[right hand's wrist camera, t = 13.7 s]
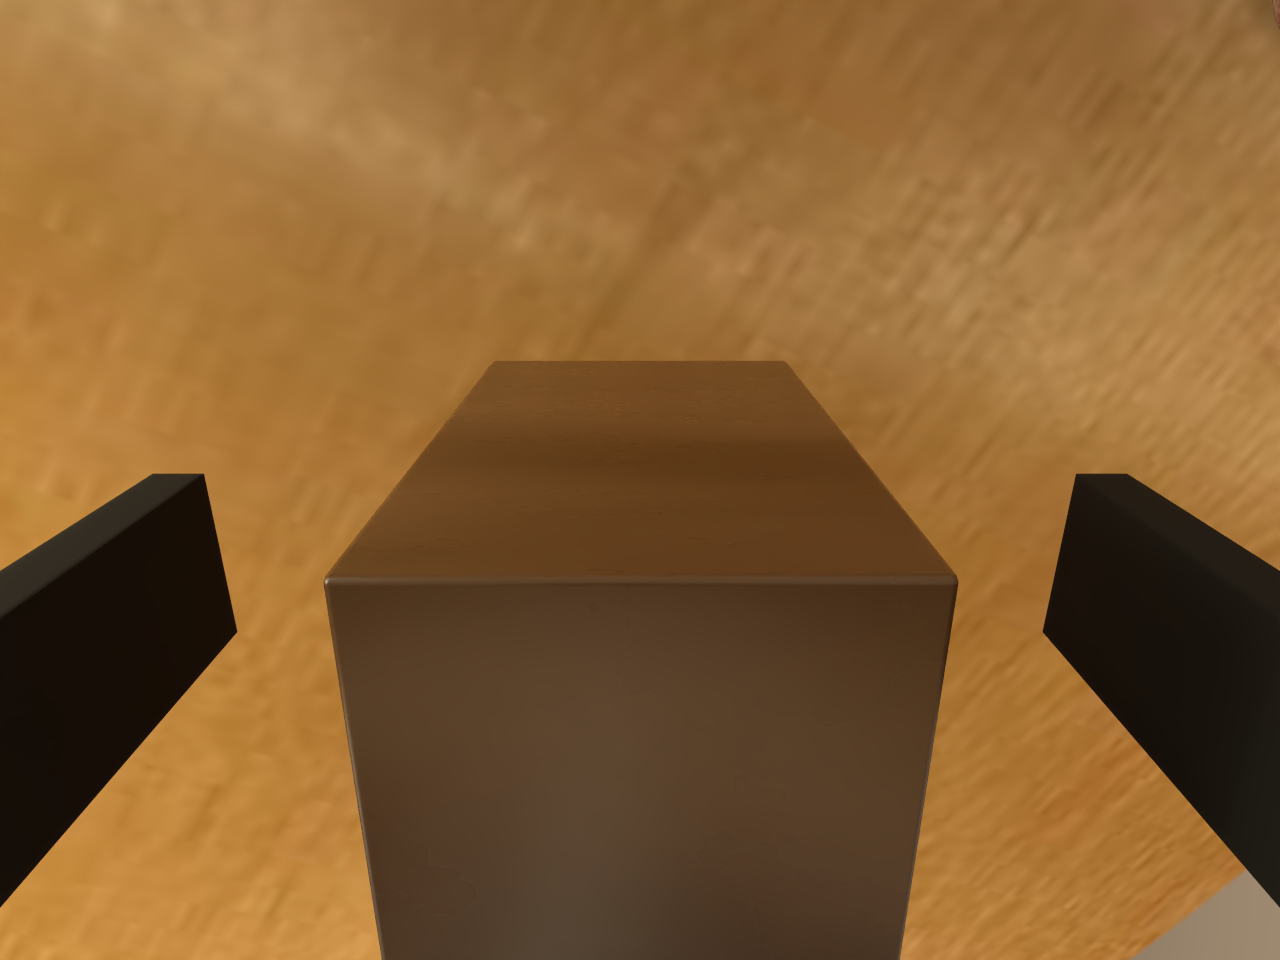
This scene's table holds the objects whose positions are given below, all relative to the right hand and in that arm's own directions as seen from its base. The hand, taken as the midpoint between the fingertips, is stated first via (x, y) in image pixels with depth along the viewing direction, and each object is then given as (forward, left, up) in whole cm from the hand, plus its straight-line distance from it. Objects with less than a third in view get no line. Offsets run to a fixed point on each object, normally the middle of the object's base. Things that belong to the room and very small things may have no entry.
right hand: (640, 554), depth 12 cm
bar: (+8, +5, -3) cm, 10 cm away
